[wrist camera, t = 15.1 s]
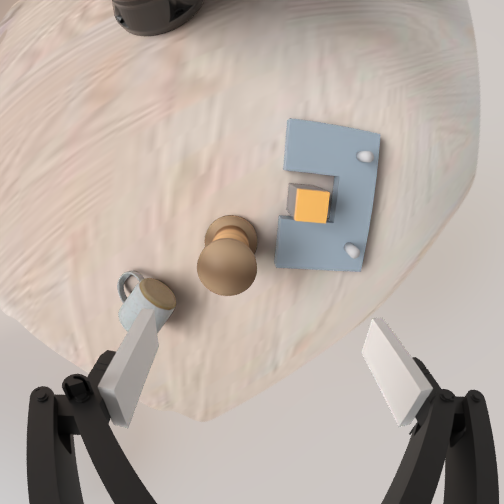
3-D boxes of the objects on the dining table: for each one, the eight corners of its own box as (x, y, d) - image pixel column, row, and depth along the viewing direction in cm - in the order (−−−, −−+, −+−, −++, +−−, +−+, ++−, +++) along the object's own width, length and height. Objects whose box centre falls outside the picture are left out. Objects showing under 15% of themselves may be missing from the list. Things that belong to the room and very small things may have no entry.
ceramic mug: (183, 293, 47) (173, 316, 39) (161, 324, 49) (149, 349, 41) (133, 257, 45) (114, 274, 37) (114, 290, 47) (95, 311, 39)
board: (287, 120, 38) (293, 115, 33) (373, 135, 39) (389, 133, 33) (274, 261, 45) (278, 275, 40) (355, 265, 46) (367, 279, 41)
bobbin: (206, 213, 42) (193, 234, 32) (259, 217, 43) (264, 238, 32) (205, 263, 45) (193, 297, 34) (255, 266, 45) (258, 301, 34)
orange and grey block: (288, 183, 41) (298, 189, 34) (314, 185, 41) (329, 192, 34) (286, 209, 42) (295, 220, 35) (311, 211, 43) (326, 223, 35)
